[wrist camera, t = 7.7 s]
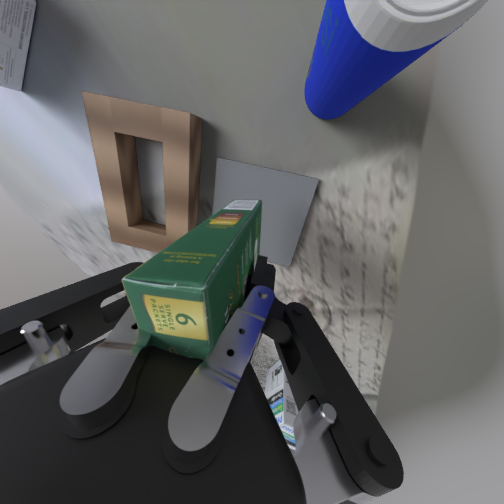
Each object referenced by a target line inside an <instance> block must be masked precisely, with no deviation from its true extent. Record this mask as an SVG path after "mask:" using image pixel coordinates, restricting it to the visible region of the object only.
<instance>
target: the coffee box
mask: <svg viewBox="0 0 504 504" xmlns="http://www.w3.org/2000/svg"><path fill="white" fill-rule="evenodd" d="M261 216H262V200H233V201H232V202H230V203H229V204H228V205H226V206H225V207H223V208H222V209H221V210H219V211H218V212H216V213H215V214H213V215H212V216H211V217H209V218H208V219H206V220H205V221H203V222H202V223H200V224H199V225H198V226H196V227H195V228H193V229H192V230H191V231H189V232H188V233H186V234H185V235H183V236H182V237H181V238H179V239H178V240H176V241H175V242H173V243H172V244H171V245H169V246H168V247H166V248H165V249H163V250H162V251H161V252H159V253H158V254H156V255H155V256H154V257H152V258H151V259H149V260H148V261H146V262H145V263H143V264H142V265H141V266H139V267H138V268H136V269H135V270H134V271H132V272H131V273H129V274H128V275H127V276H125V277H124V278H123V279H122V283H123V286H124V289H125V291H126V294H127V297H128V300H129V302H130V305H131V308H132V311H133V314H134V317H135V320H136V322H137V326H138V328H139V329H141V330H143V331H146V332H148V333H151V334H152V341H153V344H152V345H153V346H155V347H158V348H161V349H163V350H166V351H169V352H171V353H175V354H178V355H181V356H185V357H188V358H198V359H202V360H205V358H206V357H207V355H208V354H209V352H210V350H211V349H212V348H213V347H214V346H215V345H216V343H217V341H218V338H219V336H220V335H221V333H222V332H223V330H224V328H225V327H226V325H227V324H228V322H229V321H230V319H231V317H232V316H233V314H234V313H235V311H236V310H237V308H241V307H242V306H243V304H244V302H245V301H246V299H247V297H248V292H249V288H250V283H251V280H252V276H253V273H254V269H255V266H256V262H257V259H258V255H259V253H260V235H261Z"/></svg>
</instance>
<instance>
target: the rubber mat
mask: <svg viewBox="0 0 504 504" xmlns="http://www.w3.org/2000/svg"><path fill="white" fill-rule="evenodd" d="M318 181H319V179H316V178H312V177H307V176H302V175H298V174H293V173H288V172H284V171H279V170H274V169H270V168H265V167H261V166H256V165H251V164H247V163H242V162H237V161H233V160H228V159H223V158H217V164H216V176H215V188H214V200H213V213H212V215H213V214H215V213H216V212H218V211H219V210H221V209H222V208H223V207H225V206H226V205H228V204H229V203H230V202H232V201H233V200H262V216H261V235H260V253H259V255H261V256H266V257H268V259H267V262H272V263H276V264H280V265H284V266H288V267H290V264H291V261H292V258H293V255H294V252H295V249H296V246H297V243H298V240H299V237H300V234H301V231H302V228H303V225H304V222H305V219H306V216H307V213H308V210H309V207H310V204H311V201H312V199H313V196H314V193H315V190H316V187H317V184H318Z"/></svg>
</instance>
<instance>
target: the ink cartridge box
mask: <svg viewBox="0 0 504 504" xmlns="http://www.w3.org/2000/svg"><path fill="white" fill-rule="evenodd" d="M35 8H36V0H0V86H3V87H6V88H10V89H14V90H17V91H21V89H22V83H23V77H24V71H25V65H26V59H27V53H28V48H29V42H30V37H31V31H32V25H33V19H34V13H35Z"/></svg>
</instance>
